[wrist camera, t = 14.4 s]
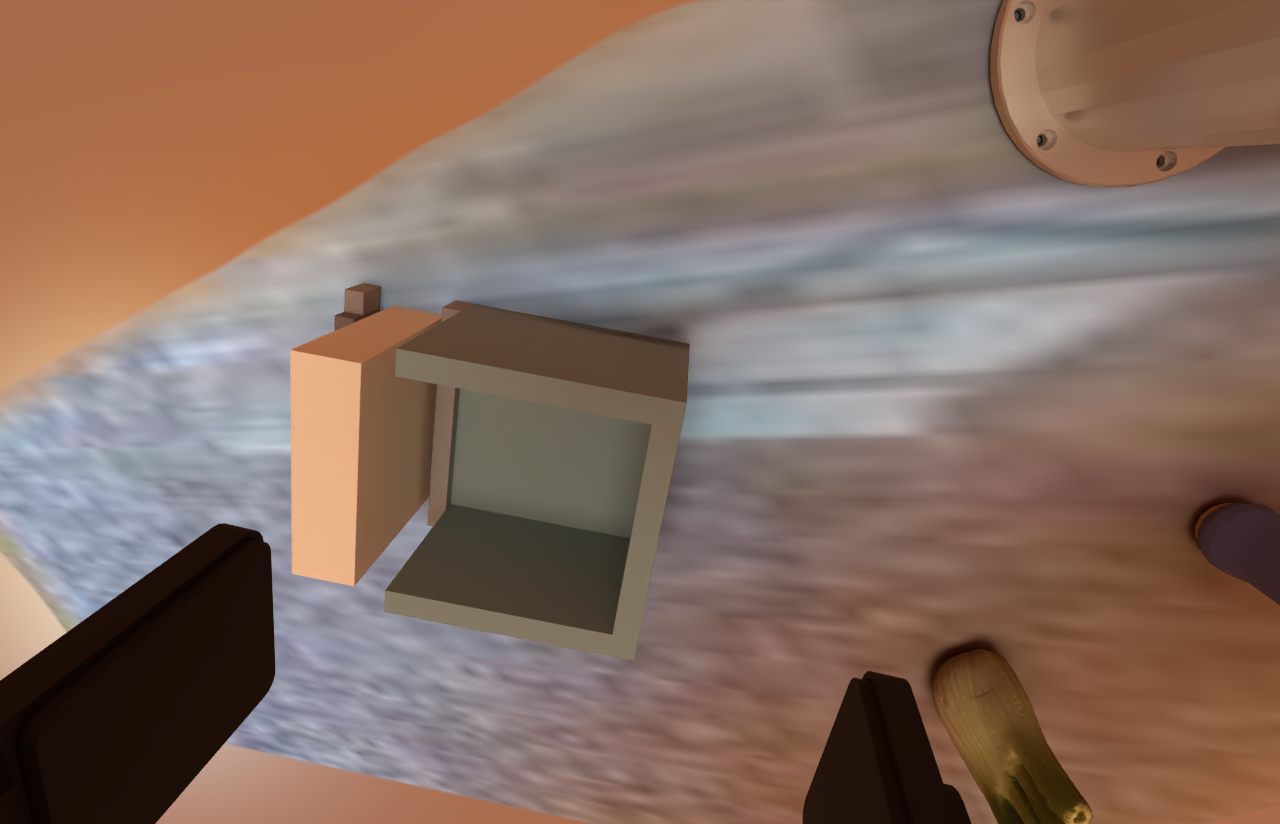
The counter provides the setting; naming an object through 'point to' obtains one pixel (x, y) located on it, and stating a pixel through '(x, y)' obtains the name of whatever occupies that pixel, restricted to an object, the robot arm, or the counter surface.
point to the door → (357, 444)
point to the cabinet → (539, 473)
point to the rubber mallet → (1243, 543)
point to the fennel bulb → (1004, 742)
